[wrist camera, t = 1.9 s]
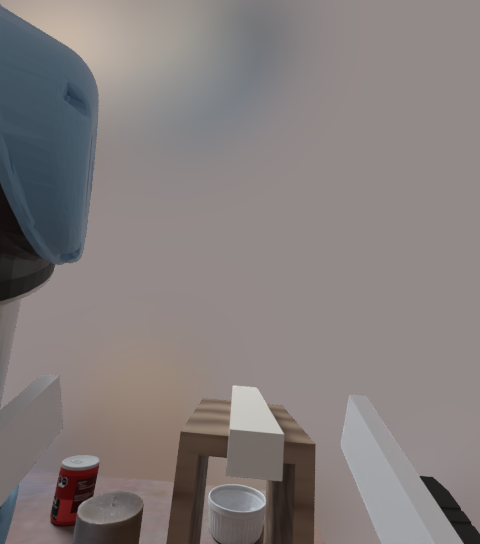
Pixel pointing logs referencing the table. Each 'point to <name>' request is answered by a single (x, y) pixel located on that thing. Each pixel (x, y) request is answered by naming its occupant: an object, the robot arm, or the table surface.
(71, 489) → the canned food
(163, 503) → the table surface
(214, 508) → the ramekin
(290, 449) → the stand
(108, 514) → the pillar candle
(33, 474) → the table surface
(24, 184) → the robot arm
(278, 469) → the bar
